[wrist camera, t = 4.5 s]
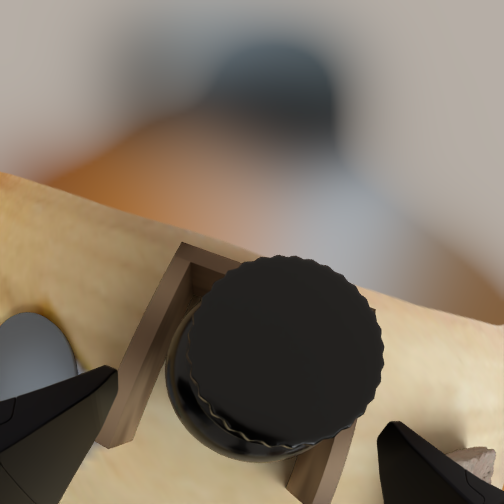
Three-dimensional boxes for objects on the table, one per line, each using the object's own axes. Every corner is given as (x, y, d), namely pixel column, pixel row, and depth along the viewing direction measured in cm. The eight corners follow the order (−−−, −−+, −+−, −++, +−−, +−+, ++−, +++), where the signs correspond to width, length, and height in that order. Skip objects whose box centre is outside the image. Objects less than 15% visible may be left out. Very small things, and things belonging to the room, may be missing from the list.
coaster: (17, 446, 9) (13, 446, 9) (-18, 341, 13) (-23, 339, 12) (100, 407, 13) (96, 406, 13) (52, 296, 16) (49, 292, 16)
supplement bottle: (310, 408, 15) (450, 385, 5) (214, 456, 13) (228, 542, 3) (261, 321, 18) (329, 198, 8) (167, 360, 16) (102, 272, 6)
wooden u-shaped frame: (300, 490, 12) (327, 510, 8) (118, 433, 13) (90, 438, 9) (343, 331, 19) (375, 309, 15) (186, 277, 19) (181, 241, 15)
